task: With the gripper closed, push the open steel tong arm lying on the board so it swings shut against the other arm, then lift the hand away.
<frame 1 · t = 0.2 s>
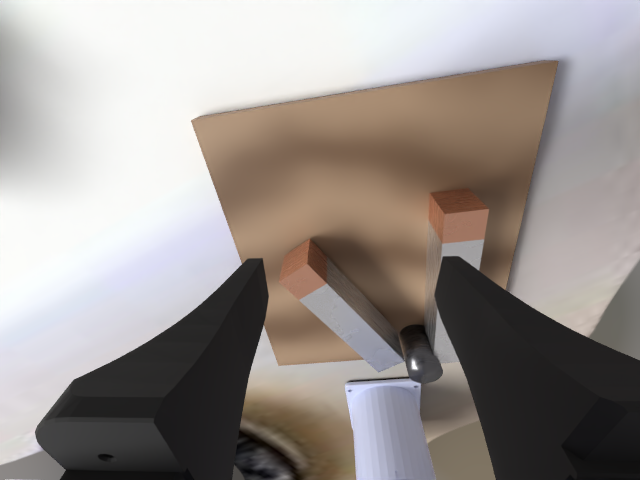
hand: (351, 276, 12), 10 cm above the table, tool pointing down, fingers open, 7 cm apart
tong arm: (346, 309, 23), point 3 cm above the table, hinge at 30.0°
board: (372, 252, 23), on the table
tongs fixed half: (413, 334, 27), resting on board
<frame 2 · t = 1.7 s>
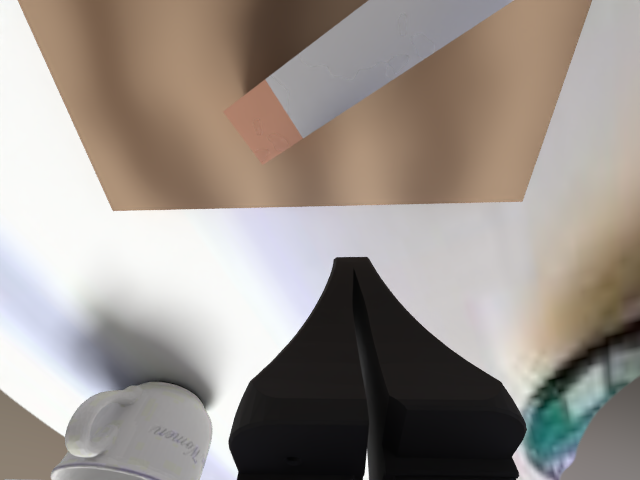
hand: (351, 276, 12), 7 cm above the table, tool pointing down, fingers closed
tong arm: (376, 43, 11), point 3 cm above the table, hinge at 30.0°
teacup: (165, 388, 29), on the table
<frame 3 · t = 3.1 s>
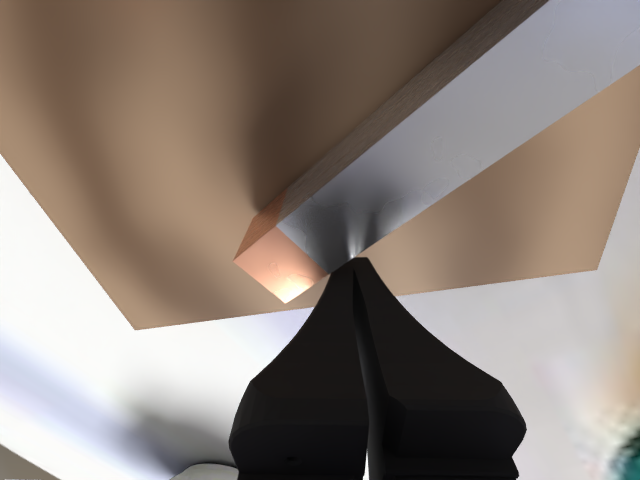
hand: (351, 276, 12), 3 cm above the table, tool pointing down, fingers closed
tong arm: (401, 154, 9), point 3 cm above the table, hinge at 30.0°, touching gripper
board: (296, 77, 11), on the table
teacup: (214, 466, 28), on the table
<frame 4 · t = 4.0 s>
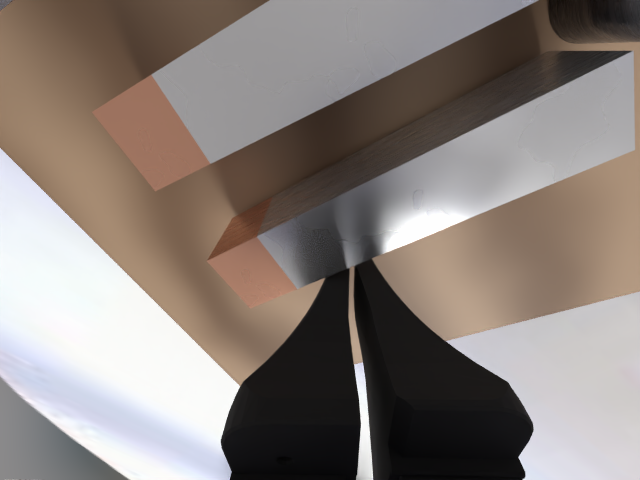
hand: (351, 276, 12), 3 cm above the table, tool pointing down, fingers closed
tong arm: (384, 192, 10), point 3 cm above the table, hinge at 4.1°, touching gripper
board: (352, 183, 13), on the table
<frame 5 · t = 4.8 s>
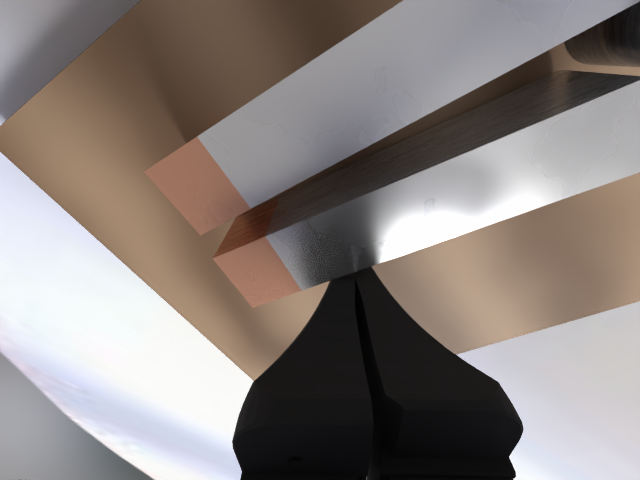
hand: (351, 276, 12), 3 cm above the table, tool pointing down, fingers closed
tong arm: (393, 198, 10), point 3 cm above the table, hinge at -3.5°, touching gripper
board: (376, 205, 13), on the table
tongs fixed half: (613, 12, 9), resting on board
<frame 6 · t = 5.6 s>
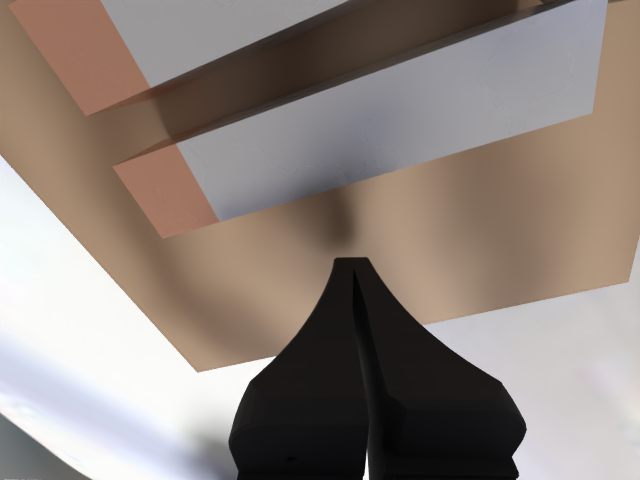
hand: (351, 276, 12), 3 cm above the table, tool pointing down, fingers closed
tong arm: (335, 128, 9), point 3 cm above the table, hinge at -1.4°
board: (321, 149, 12), on the table
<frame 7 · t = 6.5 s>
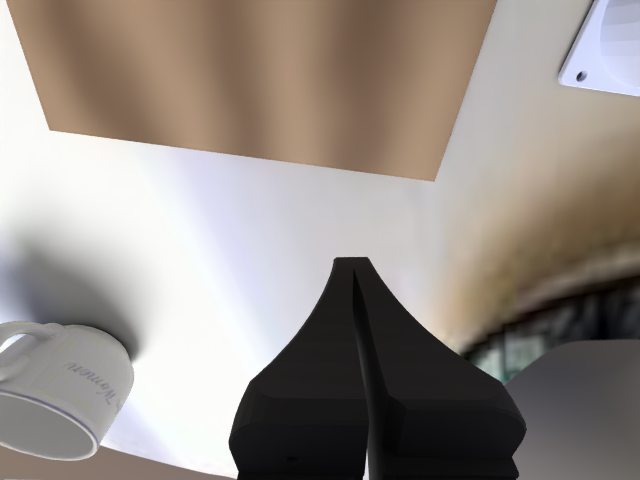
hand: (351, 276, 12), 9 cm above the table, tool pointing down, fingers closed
teacup: (90, 334, 29), on the table
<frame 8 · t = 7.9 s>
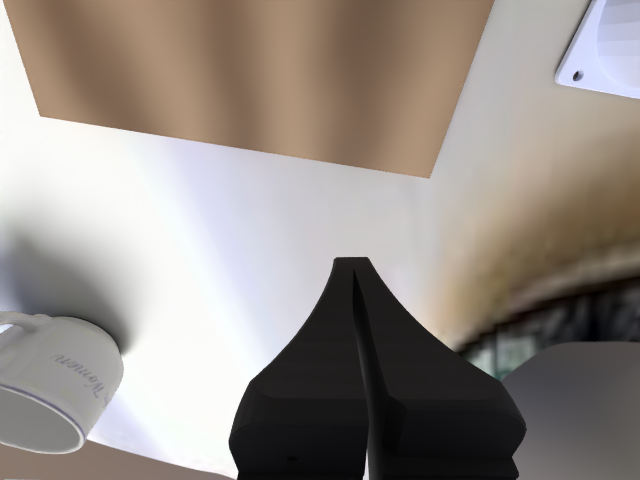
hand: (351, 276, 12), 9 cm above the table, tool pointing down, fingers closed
teacup: (80, 327, 29), on the table
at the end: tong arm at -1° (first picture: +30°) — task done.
